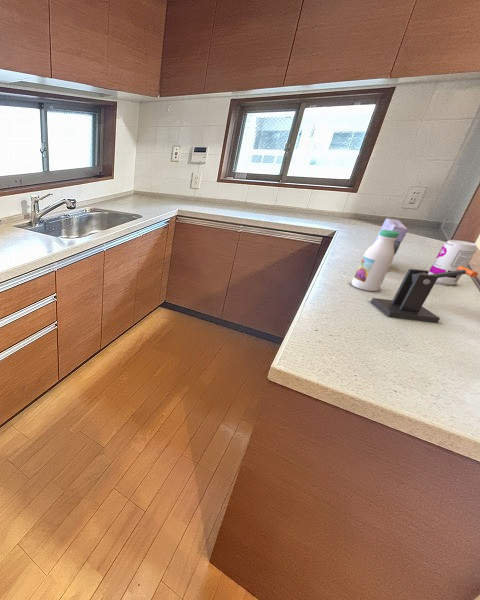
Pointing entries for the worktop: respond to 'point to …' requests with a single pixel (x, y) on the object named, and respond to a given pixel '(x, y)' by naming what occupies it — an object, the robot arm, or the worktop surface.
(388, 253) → the milk bottle
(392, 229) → the cake pan box
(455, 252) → the supplement can
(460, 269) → the switch lever
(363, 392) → the worktop surface
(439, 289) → the worktop surface
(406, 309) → the switch base
